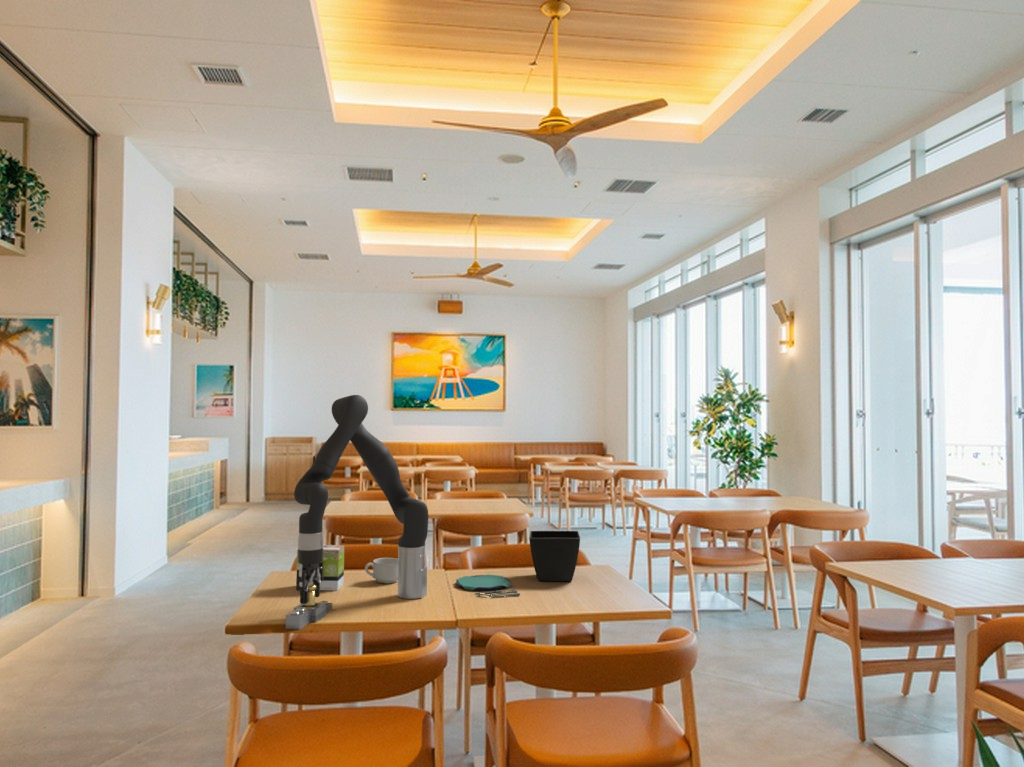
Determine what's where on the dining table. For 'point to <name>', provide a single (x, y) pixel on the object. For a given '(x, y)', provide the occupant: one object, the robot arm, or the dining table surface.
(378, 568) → the teacup
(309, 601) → the pin
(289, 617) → the grey studded bar
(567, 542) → the flower pot
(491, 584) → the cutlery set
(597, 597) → the dining table surface
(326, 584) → the tea box
